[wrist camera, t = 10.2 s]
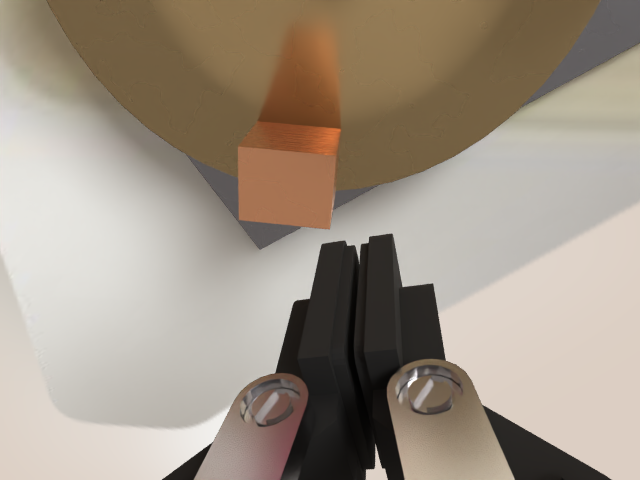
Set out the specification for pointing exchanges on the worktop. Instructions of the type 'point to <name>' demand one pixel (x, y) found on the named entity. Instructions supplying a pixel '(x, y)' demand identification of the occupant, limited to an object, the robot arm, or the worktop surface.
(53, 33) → the worktop surface
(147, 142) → the worktop surface
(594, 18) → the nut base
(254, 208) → the brass lugged disc
